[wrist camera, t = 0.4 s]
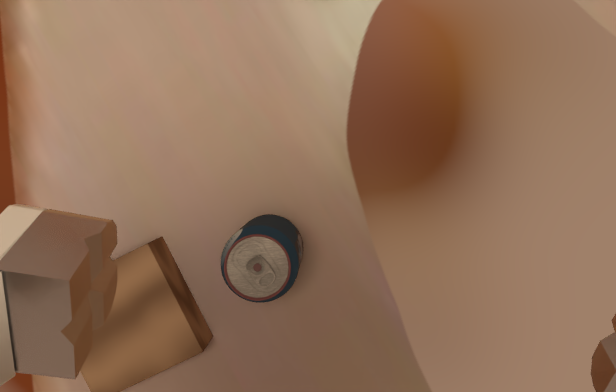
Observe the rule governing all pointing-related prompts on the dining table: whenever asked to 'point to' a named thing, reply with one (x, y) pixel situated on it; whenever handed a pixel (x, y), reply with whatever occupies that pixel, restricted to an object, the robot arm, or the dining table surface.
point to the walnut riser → (145, 322)
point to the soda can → (262, 258)
